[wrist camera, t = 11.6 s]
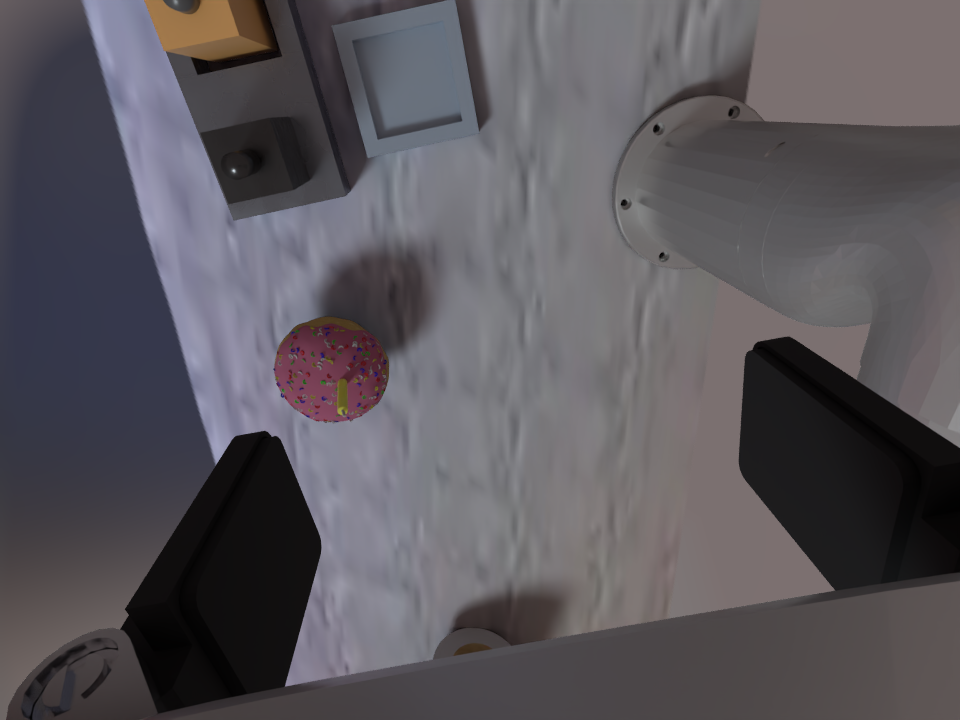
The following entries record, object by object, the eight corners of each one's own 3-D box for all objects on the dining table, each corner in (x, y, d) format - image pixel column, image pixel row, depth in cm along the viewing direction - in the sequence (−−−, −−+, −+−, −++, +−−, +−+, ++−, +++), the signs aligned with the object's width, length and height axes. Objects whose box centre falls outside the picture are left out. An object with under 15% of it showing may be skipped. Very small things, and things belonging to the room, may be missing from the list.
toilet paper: (498, 685, 65) (509, 776, 56) (418, 681, 64) (416, 775, 55) (516, 630, 61) (532, 719, 52) (432, 625, 60) (432, 716, 51)
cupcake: (371, 286, 42) (352, 347, 31) (407, 376, 46) (400, 458, 35) (270, 317, 42) (216, 389, 32) (314, 404, 46) (279, 494, 35)
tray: (454, 2, 34) (455, -2, 33) (477, 132, 38) (479, 133, 37) (334, 28, 34) (331, 25, 33) (369, 156, 38) (367, 158, 37)
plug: (255, -23, 33) (198, -67, 24) (278, 50, 35) (231, 32, 26) (193, -10, 33) (114, -49, 24) (219, 62, 35) (153, 48, 26)
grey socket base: (141, -51, 32) (29, -114, 23) (271, -80, 32) (209, -154, 23) (244, 213, 39) (190, 245, 30) (350, 190, 39) (327, 215, 30)
